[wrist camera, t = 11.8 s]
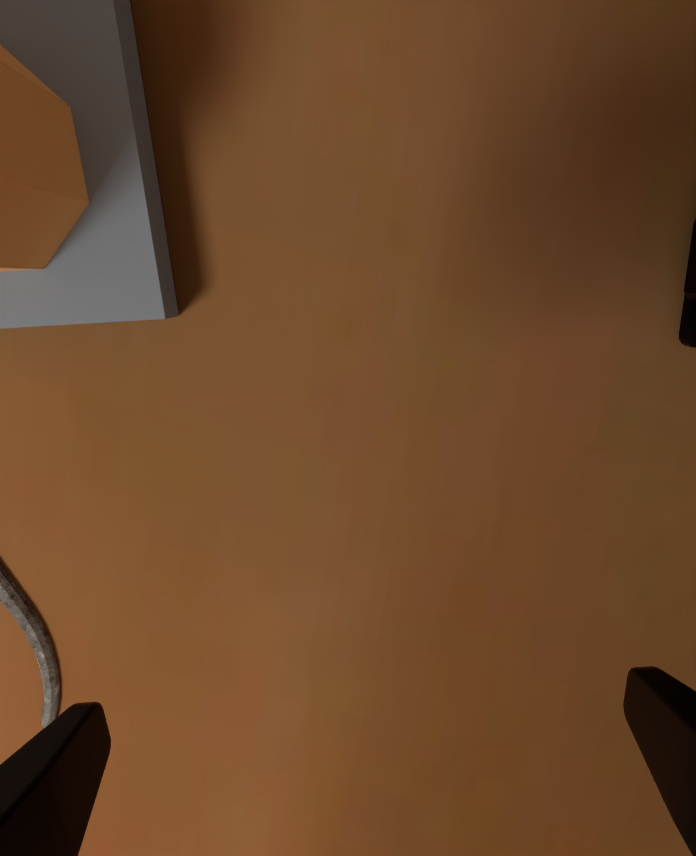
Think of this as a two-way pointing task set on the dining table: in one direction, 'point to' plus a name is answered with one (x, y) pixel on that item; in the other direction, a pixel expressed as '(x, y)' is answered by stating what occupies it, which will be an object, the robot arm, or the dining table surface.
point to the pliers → (34, 643)
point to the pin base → (94, 170)
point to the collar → (35, 169)
